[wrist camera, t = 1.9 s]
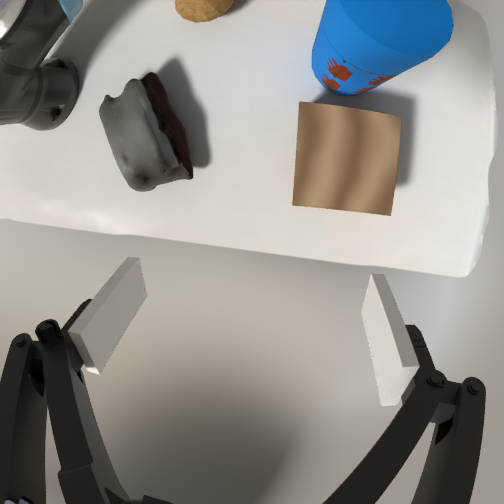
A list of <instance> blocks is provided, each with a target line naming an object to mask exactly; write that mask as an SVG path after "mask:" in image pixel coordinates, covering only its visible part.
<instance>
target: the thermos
mask: <svg viewBox="0 0 504 504" xmlns="http://www.w3.org/2000/svg"><path fill="white" fill-rule="evenodd" d="M453 26H454V25H453V18H452V13H451V8H450V6H449V4H448V2H447V1H446V0H326V4H325V7H324V11H323V14H322V18H321V21H320V25H319V28H318V32H317V35H316V39H315V42H314V45H313V49H312V69H313V71H314V74H315V76H316V78H317V79H318V80H319V82H320V83H321V84H322V85H323V86H324V87H325V88H327V89H329V90H330V91H332V92H333V93H337V94H340V95H344V96H351V95H358V94H361V93H364V92H366V91H368V90H371V89H373V88H375V87H377V86H379V85H380V84H382V83H384V82H386V81H388V80H389V79H391V78H393V77H395V76H397V75H399V74H401V73H402V72H404V71H406V70H408V69H410V68H412V67H414V66H416V65H418V64H420V63H422V62H424V61H426V60H428V59H429V58H432V57H433V56H434V55H435V54H436V53H437V52H439V51H440V50H441V49H442V48H443V47H444V46H445V45H446V44H447V43H448V42H449V41H450V38H451V34H452V30H453Z"/></svg>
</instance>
